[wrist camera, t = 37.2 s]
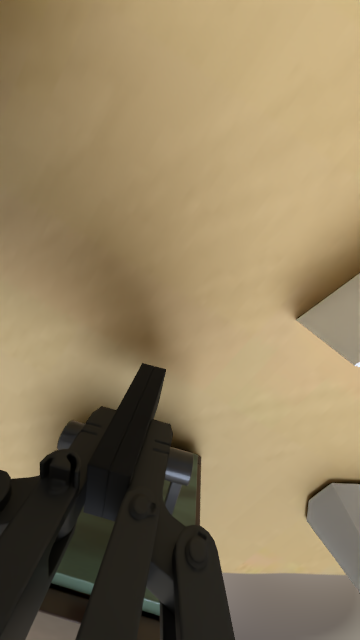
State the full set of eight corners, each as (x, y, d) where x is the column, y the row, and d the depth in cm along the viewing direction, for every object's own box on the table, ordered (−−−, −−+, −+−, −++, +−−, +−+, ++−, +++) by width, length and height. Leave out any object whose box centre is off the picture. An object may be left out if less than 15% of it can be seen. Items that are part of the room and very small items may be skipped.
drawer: (91, 361, 17) (-15, 465, 9) (218, 394, 17) (231, 535, 9) (76, 510, 23) (6, 654, 15) (169, 537, 23) (148, 699, 15)
